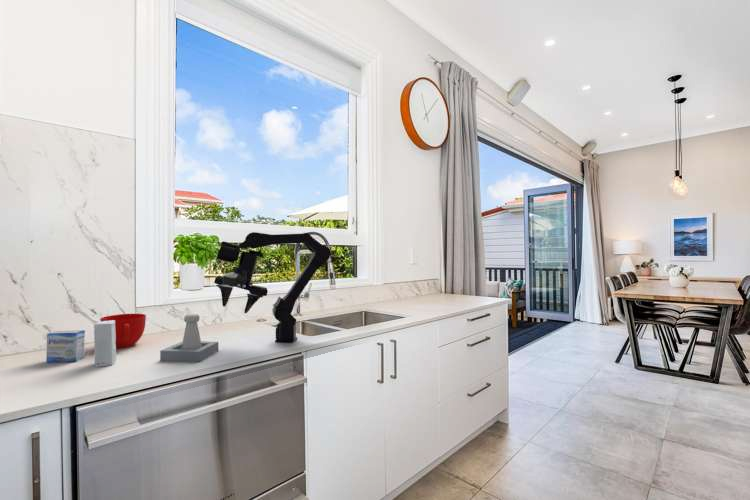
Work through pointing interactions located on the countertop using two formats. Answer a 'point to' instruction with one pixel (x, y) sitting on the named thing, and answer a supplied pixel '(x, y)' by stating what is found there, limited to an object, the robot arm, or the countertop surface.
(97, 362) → the skincare box
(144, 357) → the countertop surface
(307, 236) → the robot arm
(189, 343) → the salt shaker
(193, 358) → the grey square tray
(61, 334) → the medicine box
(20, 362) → the countertop surface
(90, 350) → the countertop surface
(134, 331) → the ceramic cup
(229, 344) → the countertop surface
